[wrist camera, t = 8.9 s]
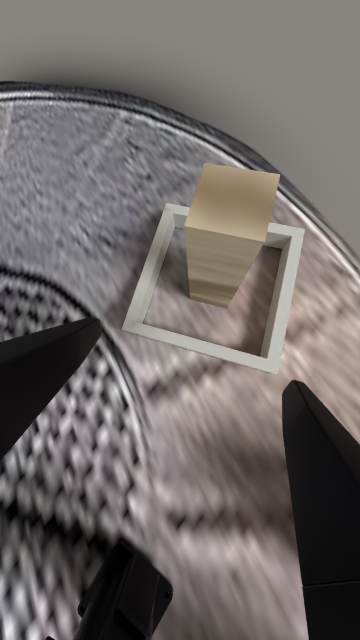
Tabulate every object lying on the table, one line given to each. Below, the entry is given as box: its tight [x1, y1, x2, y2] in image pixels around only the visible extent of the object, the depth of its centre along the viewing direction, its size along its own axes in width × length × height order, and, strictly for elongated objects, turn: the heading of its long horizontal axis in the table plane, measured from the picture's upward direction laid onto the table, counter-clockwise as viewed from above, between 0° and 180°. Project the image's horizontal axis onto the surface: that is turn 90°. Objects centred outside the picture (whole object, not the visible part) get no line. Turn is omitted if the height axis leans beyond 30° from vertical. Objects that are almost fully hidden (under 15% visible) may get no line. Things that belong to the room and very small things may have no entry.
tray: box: [122, 203, 305, 375], centre depth 22 cm, size 16×16×2 cm
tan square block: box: [184, 163, 280, 308], centre depth 17 cm, size 4×4×13 cm
